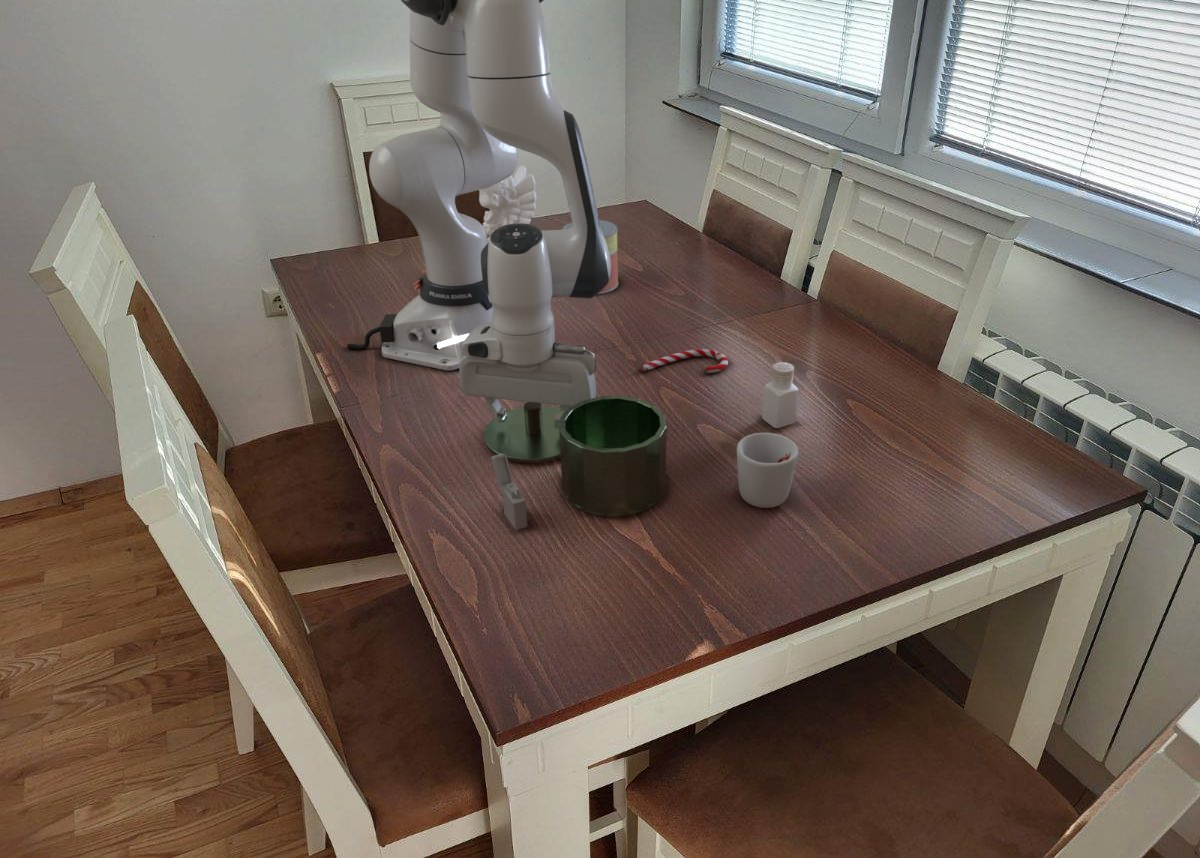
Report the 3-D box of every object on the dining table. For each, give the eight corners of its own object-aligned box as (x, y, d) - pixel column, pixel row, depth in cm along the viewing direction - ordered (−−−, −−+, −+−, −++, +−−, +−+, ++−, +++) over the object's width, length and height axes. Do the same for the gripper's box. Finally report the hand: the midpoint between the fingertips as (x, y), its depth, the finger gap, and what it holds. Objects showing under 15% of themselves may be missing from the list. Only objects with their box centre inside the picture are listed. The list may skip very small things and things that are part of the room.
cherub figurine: (478, 246, 206) (469, 160, 196) (530, 241, 209) (524, 155, 198) (485, 266, 196) (476, 176, 185) (541, 260, 198) (535, 170, 187)
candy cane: (636, 356, 154) (717, 344, 157) (636, 363, 155) (717, 351, 158) (649, 376, 148) (734, 364, 151) (649, 383, 148) (733, 371, 151)
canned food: (628, 280, 187) (628, 224, 181) (599, 298, 179) (598, 241, 173) (583, 270, 192) (581, 216, 186) (554, 288, 184) (550, 232, 178)
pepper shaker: (775, 430, 135) (780, 375, 130) (759, 418, 138) (764, 364, 133) (796, 423, 136) (802, 369, 131) (780, 412, 139) (785, 358, 134)
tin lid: (480, 468, 128) (476, 434, 125) (488, 413, 141) (484, 382, 138) (586, 463, 129) (585, 430, 126) (584, 410, 142) (583, 378, 139)
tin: (562, 519, 117) (558, 453, 112) (563, 459, 130) (560, 397, 124) (669, 515, 118) (670, 449, 112) (660, 456, 130) (661, 394, 124)
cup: (724, 471, 126) (726, 423, 122) (779, 467, 127) (783, 419, 122) (740, 517, 117) (744, 466, 113) (800, 512, 117) (805, 462, 113)
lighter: (528, 526, 116) (523, 476, 112) (515, 530, 116) (511, 480, 112) (507, 498, 122) (502, 449, 118) (495, 502, 121) (490, 453, 117)
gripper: (600, 337, 127) (602, 420, 134) (466, 325, 131) (475, 406, 138) (589, 357, 122) (592, 442, 129) (450, 344, 126) (460, 427, 133)
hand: (530, 423), depth 134 cm, fingers open, 8 cm apart
